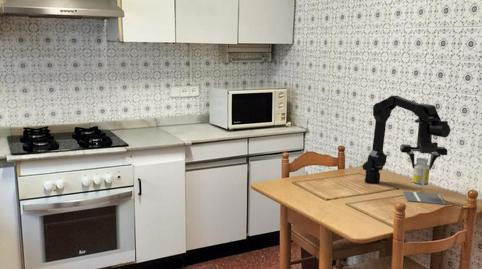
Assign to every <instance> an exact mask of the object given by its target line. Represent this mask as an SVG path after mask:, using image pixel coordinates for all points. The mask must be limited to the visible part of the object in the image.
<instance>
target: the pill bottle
mask: <svg viewBox="0 0 482 269" xmlns="http://www.w3.org/2000/svg"><path fill="white" fill-rule="evenodd" d="M429 169H430V167H429V159H428V158H424V157H417V158H416V163H414V169H413V173H412V182H411V183H412V184H413V185H415V186H418V187H427V186H428V185H429V176H430V170H429Z"/></svg>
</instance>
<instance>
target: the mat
mask: <svg viewBox="0 0 482 269" xmlns="http://www.w3.org/2000/svg"><path fill="white" fill-rule="evenodd" d="M402 193H403V195H404V198H405V200H406V201H407V202H410V203H411V202H412V203H420V202H421V203H422V204H431V203H434V205H443V204H444V205H446V206H447V202H446V201H445V200H444V198H443V197H442V196H441V194H440V193H428V192H418V191H417V192H416V191H407V190H406V191H402Z"/></svg>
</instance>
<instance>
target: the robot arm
mask: <svg viewBox="0 0 482 269" xmlns="http://www.w3.org/2000/svg"><path fill="white" fill-rule="evenodd" d="M396 107H399V108H402V109H404V110H407V111H410V112H412V113H413V114H414V116H416V117H418V118H417V119H415V120H414V123H418V128H417V138H416V139H417V140H416V146H411V145H410V144H405V143H402V144H401V145H400V146H399V151H400V152H401V153H402V154H403V153H405V154H406V155H407V156H409V159H410V164H411V167H412V169H413V170H414V165H415V152H418V153H420V154H429V155H430V158H429V163H428V165H429V167H430V169H429V171H431V170H432V167H434V166H433V165H434V163H435V162H436V160H437V159H438V158H440V157H441V156H447V155H448V149H447V148H446V147H445V146H438V144H439V143H438V142H434V141H433V140H432V136H434V137H439V138H444V139H445V138H448V137H449V135H450V133H451V127H450V125H449V121H447V120H441V119H442V118H441V117H440V115H439V113H438V111H437V107H436V106H435V105H433V104H427V103H418V102H415V101H412V100H410V99H407V98H404V97H401V96H399V95H390V96H388V97H387V98H386V99H384V100H380V101H379V102H376V103H375V104H374V105H373V106H372V116H373V118H374V121H375V122H374V131H373V132H374V133H373V142H372V149H371V151H370V152H369V154H368V156H367V160H366V162H364V163H363V164H362V170H363V171H365V173H364V174H365V176H364V183H366V184H375V185H376V184H377V185H378V184H380V180H381V172H380V171H382V170H383V169H384V167H385V166H386V163H387V162H388V161H387V157H388V155H387V154H386V153H385V152H384V145H385V137H386V136H385V134H386V127H387V121H388V120H389V118H390V117H391V113H392V111H393V110H395V108H396Z"/></svg>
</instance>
